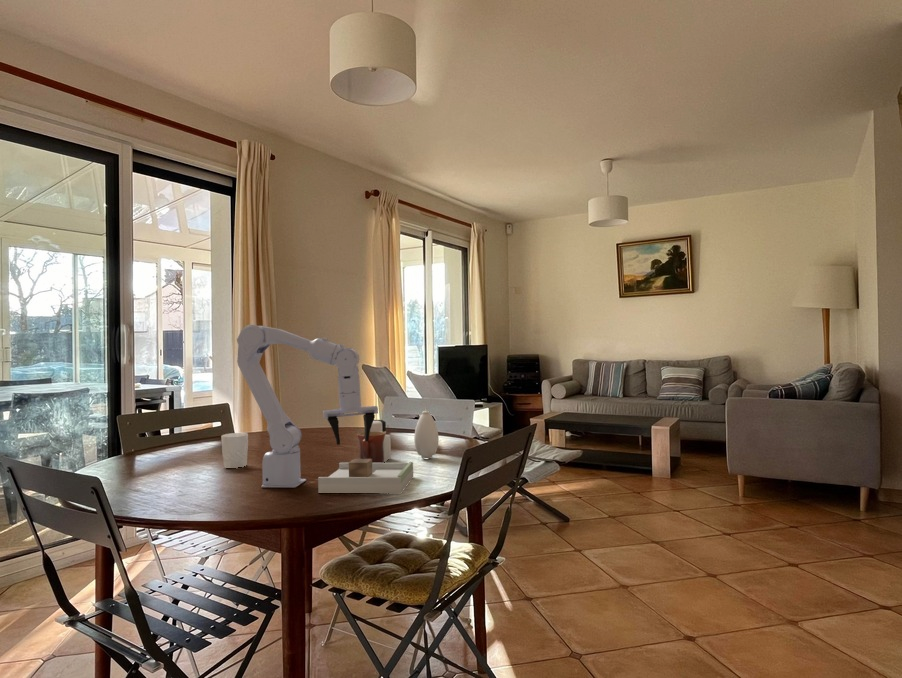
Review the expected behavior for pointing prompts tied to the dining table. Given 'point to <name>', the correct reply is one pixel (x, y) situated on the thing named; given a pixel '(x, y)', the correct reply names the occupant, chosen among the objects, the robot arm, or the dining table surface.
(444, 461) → the dining table surface
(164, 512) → the dining table surface
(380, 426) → the container
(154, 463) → the dining table surface
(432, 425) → the sauce bottle
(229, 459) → the white cup
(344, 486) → the tray
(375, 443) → the mug
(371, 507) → the dining table surface
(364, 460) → the block
